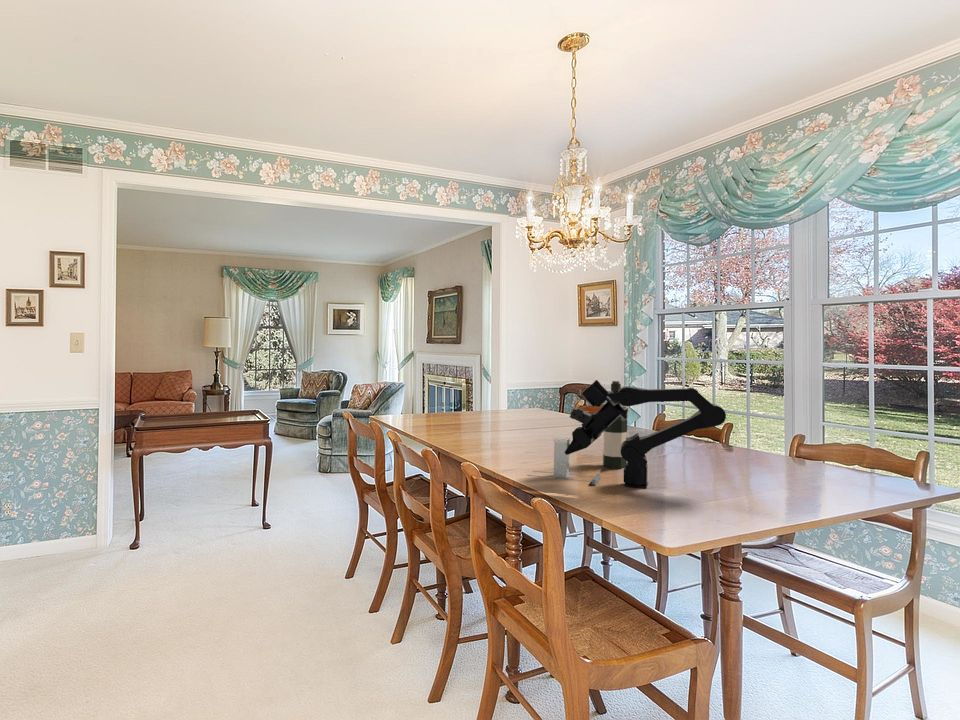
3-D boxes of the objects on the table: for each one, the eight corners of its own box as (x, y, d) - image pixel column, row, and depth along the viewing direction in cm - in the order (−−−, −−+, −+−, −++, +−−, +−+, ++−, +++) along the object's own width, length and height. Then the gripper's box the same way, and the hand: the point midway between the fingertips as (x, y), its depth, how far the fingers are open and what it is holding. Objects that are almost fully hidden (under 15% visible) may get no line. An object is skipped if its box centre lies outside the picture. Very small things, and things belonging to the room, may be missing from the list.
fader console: (600, 478, 177) (600, 473, 177) (595, 485, 169) (595, 479, 169) (530, 472, 186) (530, 467, 186) (522, 478, 178) (522, 472, 177)
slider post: (569, 475, 179) (570, 438, 178) (566, 478, 175) (567, 440, 174) (556, 473, 180) (556, 437, 180) (553, 476, 176) (553, 439, 176)
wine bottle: (598, 464, 199) (599, 380, 198) (618, 463, 201) (619, 380, 200) (610, 469, 191) (611, 382, 190) (631, 468, 193) (632, 381, 192)
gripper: (591, 396, 183) (558, 428, 187) (579, 401, 165) (543, 436, 170) (615, 421, 180) (581, 453, 184) (606, 429, 163) (569, 464, 167)
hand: (568, 451), depth 176 cm, fingers open, 9 cm apart
